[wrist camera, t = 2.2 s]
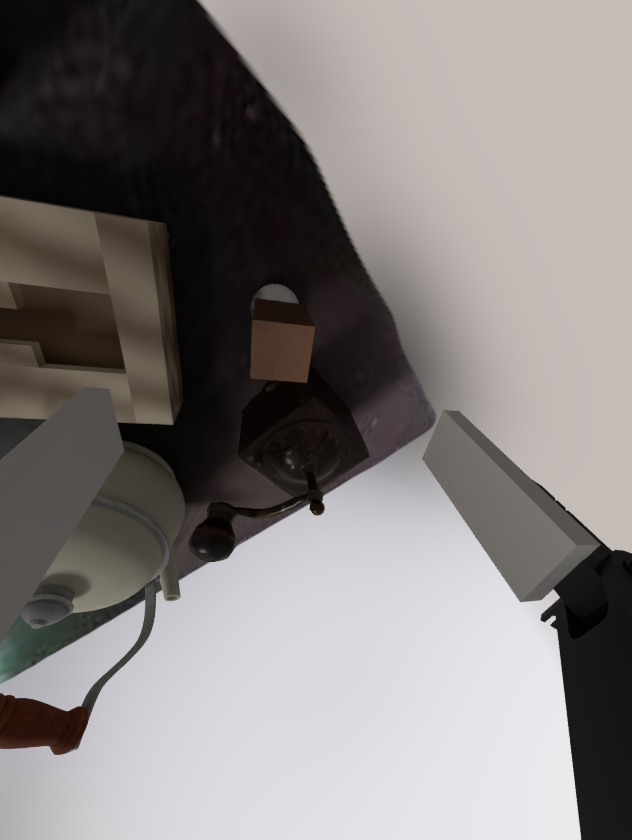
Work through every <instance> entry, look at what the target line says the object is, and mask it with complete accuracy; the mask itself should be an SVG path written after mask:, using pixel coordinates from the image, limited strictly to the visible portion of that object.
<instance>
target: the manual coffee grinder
mask: <svg viewBox="0 0 632 840" xmlns="http://www.w3.org/2000/svg"><path fill="white" fill-rule="evenodd" d="M242 414H243V417H242V426H241V434H240V443H239V451H238V456H239V457H240V458H241V459H242V460H244V461H245V462H246V463H247V464H249V465H250V466H251V467H253V468H254V469H255V470H257V471H258V472H259V473H261V474H262V475H263V476H265V477H266V478H267V479H269V480H270V481H271V482H273V483H274V484H275V485H277V486H278V487H280V488H281V489H282V490H284V491H285V492H287V493H288V494H290V495H291V496H293V497H295V498H293V499H290V500H288V501H286V502H284V503H282V504H279V505H276V506H274V507H271V508H265V509H251V508H242V507H233V506H232V505H230V504H228V503H224V502H215V503H211V504H210V506H209V507H208V509H207V513H208V514H207V519H206V520H205V521H204V522H202V523H201V524H199V525H198V526H197V527H196V529H195V531H194V532H193V534H192V535H191V537H190V540H189V542H188V543H189V551H190V552H192V553H193V554H194V555H195V556H197V557H198V558H199V559H201V560H204V561H207V562H216V561H221V560H224V559H227V558H228V557H229V556H230V554H231V553H232V552H233V550H234V549H235V547H236V540H237V539H236V537H235V535H234V532H233V529H232V522H233V521H234V520H235V519H236V517H237V516H238V517H243V518H250V519H266V518H271V517H275V516H278V515H281V514H283V513H286V512H288V511H291V510H293V509H295V508H298V507H300V506H303V505H305V504H308V503H309V504H310V510H311V511H312V513H313V514H314V515H321V514H322V513H323V512H324V510H325V508H324V504H323V503H322V500H323V493H322V492H321V491H320V489H322V488H323V487H325V486H326V485H328V484H329V483H331V482H332V481H334V480H335V479H337V478H338V477H340V476H341V475H343V474H344V473H346V472H347V471H349V470H350V469H352V468H353V467H355V466H356V465H358V464H359V463H361V462H362V461H364V460H365V459H367V458H368V457H370V455H369V452H368V450H367V447H366V445H365V443H364V441H363V438H362V436H361V434H360V432H359V429H358V427H357V425H356V423H355V421H354V419H353V417H352V414H351V412H350V411H349V409H348V408H347V406H346V405H345V404H344V402H343V401H342V400H341V399H340V398H339V397H338V396H337V395H336V393H335V392H334V391H333V390H332V389H331V388H330V387H329V385H328V384H327V383H326V382H325V381H324V380H323V379H322V377H321V376H320V375H319V374H318V373H317V372H316V371H315V370H314V369H313V367H312V366H311V365H310V366H309V372H308V379H307V383H303V382H290V381H277V380H270V381H269V382H268V383H267V384H266V385H265V386H264V387H263V390H262V391H261V392H260V393H259V394H258V395H257V396H256V397H254V398H253V399H252V400H251V401H250V402H249V404H248V405H247V406H246V407H245V409H244V410H243V411H242Z"/></svg>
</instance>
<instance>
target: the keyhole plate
mask: <svg viewBox="0 0 632 840" xmlns="http://www.w3.org/2000/svg"><path fill="white" fill-rule="evenodd" d="M84 387H88V388H104V389H109V390H110V395H111V399H112V403H113V407H114V411H115V415H116V419H117V422H119V423H143V424H166V425H173V424H174V422H175V419H176V417H177V415H178V413H179V411H180V409H181V407H182V405H183V403H184V398H183V388H182V378H181V367H180V357H179V347H178V336H177V326H176V316H175V305H174V295H173V285H172V274H171V264H170V254H169V243H168V233H167V223H162V222H157V221H151V220H145V219H139V218H133V217H128V216H122V215H116V214H110V213H104V212H99V211H93V210H87V209H81V208H75V207H70V206H64V205H58V204H52V203H47V202H41V201H35V200H29V199H23V198H18V197H12V196H6V195H0V417H2V418H26V419H48V418H49V417H50V416H52V415H53V414H54V413H55V412H56V411H57V410H58V409H60V408H61V407H62V406H63V405H64V404H65V403H67V402H68V401H69V400H70V399H71V398H72V397H73V396H75V395H76V394H77V393H78V392H79V391H80V390H82V389H83V388H84Z"/></svg>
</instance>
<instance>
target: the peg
mask: <svg viewBox="0 0 632 840" xmlns="http://www.w3.org/2000/svg"><path fill="white" fill-rule="evenodd" d="M251 315H252V341H251V369H250V378H251V379H264V380H277V381H290V382H303V383H307V379H308V372H309V366H310V359H311V352H312V346H313V339H314V332H315V325H314V324H313V322H312V320H311V318H310V316H309V314H308V312H307V310H306V308H305V306H304V304H299V302H298V300H297V297H296V295H295V294H294V292H293V291H292V290H291V289H290V288H288V287H287V286H285V285H283V284H280V283H268V284H265V285H263V286H261V287H260V288H259V289H258V290H257V291H256V292H255V294H254V296H253V299H252V303H251Z"/></svg>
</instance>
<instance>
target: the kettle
mask: <svg viewBox="0 0 632 840" xmlns="http://www.w3.org/2000/svg"><path fill="white" fill-rule="evenodd" d="M122 443H123V447H124V452H123V454H122V455H121V457H120V458H119V460H118V461H117V463H116V464H115V466H114V468H113V469H112V471H111V472H110V474H109V475H108V477H107V479H106V480H105V482H104V483H103V485H102V486H101V488H100V489H99V491H98V493H97V494H96V496H95V497H94V499H93V500H92V502H91V503H90V505H89V507H88V508H87V510H86V511H85V513H84V514H83V516H82V518H81V519H80V521H79V522H78V524H77V525H76V527H75V528H74V530H73V532H72V533H71V535H70V536H69V538H68V539H67V541H66V543H65V544H64V546H63V547H62V549H61V550H60V552H59V553H58V555H57V557H56V558H55V560H54V561H53V563H52V564H51V566H50V568H49V569H48V571H47V572H46V574H45V575H44V577H43V578H42V580H41V582H40V583H39V585H38V586H37V588H36V589H35V591H34V593H33V594H32V596H31V597H30V599H29V600H28V602H27V603H26V605H25V607H24V608H23V610H22V611H21V614H22V617H23V619H24V620H25V621H26V622H27V623H29V624H31V627H33V628H41V627H43V626H48V625H51V624H54V623H56V622H58V621H60V620H62V619H63V618H64V617H66V616H68V615H70V614H71V613H76V612H86V611H92V610H97V609H101V608H105V607H108V606H111V605H114V604H117V603H119V602H121V601H123V600H125V599H127V598H129V597H130V596H132V595H134V594H135V593H136V592H138V591H139V590H140V589H141V588H143V587H144V586H145V585H146V589H145V617H144V623H143V628H142V631H141V634H140V636H139V638H138V640H137V642H136V643H135V645H134V646H133V647H132V648H131V650H130V651H129V652H128V653H127V654H126V655H125V656H124V657H123V658H122V659H121V660H120V661H119V662H118V663H117V664H116V665H115V666H114V667H113V668H111V669H110V670H109V671H108V672H107V673H106V674H105V675H103V676H102V677H101V678H100V679H99V680H98V681H97V682H96V683H95V684H94V685H93V687H92V688H91V689H90V691H89V692H88V694H87V695H86V697H85V700H84V702H83V704H82V706H81V707H80V706H79V707H76V708H74V709H72V710H70V711H64V710H61V709H58V708H56V707H53V706H51V705H48V704H46V703H43V702H40V701H37V700H33V699H27V698H15V697H14V696H12V695H6V696H4V695H3V694H1V693H0V749H15V748H28V747H39V746H50V748H51V750H52V752H53V753H54V754H55V755H61V754H65V753H69V752H71V751H73V750H76V749H78V747H79V745H80V742H81V739H82V736H83V733H84V731H85V729H86V727H87V724H88V720H89V717H90V714H91V712H92V709H93V706H94V704H95V701H96V699H97V697H98V694H99V693H100V691H101V689H102V687H103V686H104V685H105V683H106V682H107V681H108V680H109V679H110V678H111V677H112V676H113V675H114V674H115V673H116V672H117V671H118V670H119V669H120V668H122V667H123V666H124V665H125V664H126V663H127V662H128V661H129V660H130V659H131V658H132V657H133V656H134V655H135V654H136V653H137V652H138V650H140V648H141V647H142V646H143V645H144V643H145V642H146V640H147V639H148V637H149V635H150V633H151V630H152V626H153V623H154V617H155V608H156V582H157V581H159V580H160V583H161V586H162V590H163V594H164V599H165V600H166V601H175V600H178V599H179V598H180V589H179V582H178V573H177V563H176V556H175V551H174V547H173V542H174V540H175V539H176V537H177V535H178V533H179V531H180V529H181V526H182V523H183V520H184V514H185V502H184V497H183V494H182V491H181V488H180V486H179V484H178V483H177V481H176V478H175V475H174V473H173V471H172V469H171V467H170V466H169V465H168V464H167V462H166V461H165V460H164V459H163V458H161V457H160V456H159V455H158V454H156V453H155V452H153V451H151V450H150V449H148V448H146V447H143V446H141V445H138V444H135V443H132V442H128V441H123V440H122Z"/></svg>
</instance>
